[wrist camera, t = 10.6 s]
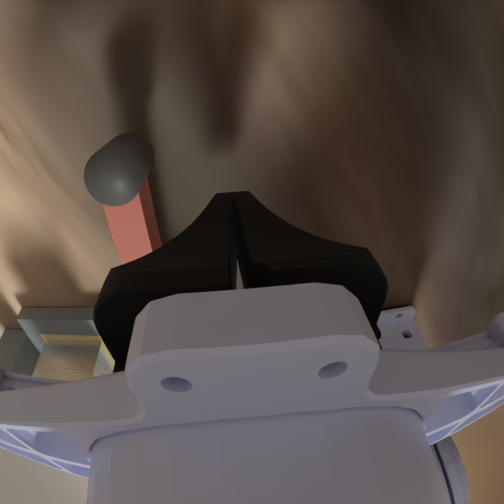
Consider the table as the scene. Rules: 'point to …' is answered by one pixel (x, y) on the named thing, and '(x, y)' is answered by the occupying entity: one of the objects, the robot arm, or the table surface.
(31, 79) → the table surface
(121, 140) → the lever
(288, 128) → the table surface
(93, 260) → the table surface
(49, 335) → the press
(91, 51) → the table surface
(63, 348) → the block
